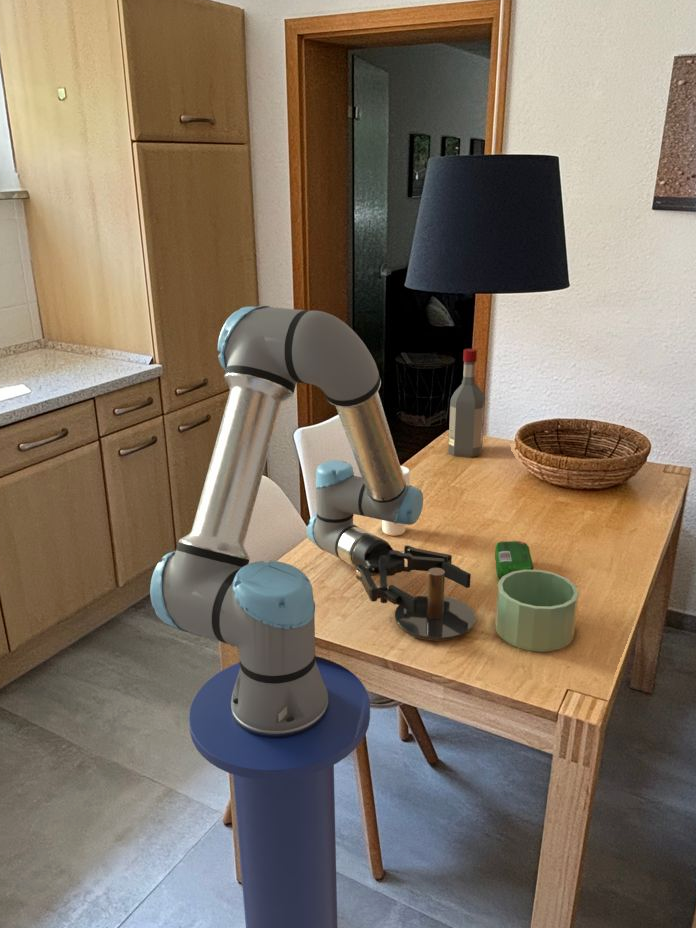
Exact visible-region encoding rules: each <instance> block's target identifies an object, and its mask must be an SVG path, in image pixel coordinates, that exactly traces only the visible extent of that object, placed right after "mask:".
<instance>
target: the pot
mask: <svg viewBox="0 0 696 928" xmlns="http://www.w3.org/2000/svg"><path fill="white" fill-rule="evenodd" d="M496 589H497V590H496V602H495V603H496V604H495V616H494V617H495V619H494V624H495V627H494V628H495V631H496V633H497V634H498V636H499V638H501V639H502V640H503V641H504V642H506V643H507V644H509V645H511V646H513V647H516V648H518V649H521V650H524V651H525V650H526V651H530V652H539V653H540V652H541V653H544V652H545V653H547V652H553V651H558V650H561V649H564V648H565V647H567V646H568V645H569V644H570V643H572V640H573V639H574V634H575V630H576V624H577V623H576V622H577V615H578V604H579V596H580V592H579V590H578V587H577V585H576V584H575V583H574V582H572V581H571V580H570V579H569V578H568V577H565V576H562V575H560V574H559V573H556V572H551V571H547V570H543V569H534V570H519V571H513V572H510V573H509V574H507V575H505V576H503V577H502V578H501V579H500V581H499V580H498V582H497V587H496Z"/></svg>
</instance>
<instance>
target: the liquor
mask: <svg viewBox="0 0 696 928" xmlns="http://www.w3.org/2000/svg"><path fill="white" fill-rule="evenodd" d="M477 352H478V350H477V349H475V348H465V349H463V354H462V356H463V357H462V361H463V372H462V374H463V375H462V376H463V377H462V380H461V384H460V385H459V386H458V387H457V388H456V389H455V390H454V392H453V394H452V395H451V398H450V401H449V402H450V403H449V422H448V423H449V424H448V425H449V427H448V447H447V449H448V453H449V454H450V455H451V456H454V457H461V458H462V457H463V458H474V457H475V458H476V457H479V456H480V455H481V453H482V449H483V440H484V423H485V405H486V397H485V393H484V392H483V391H482V389H481V388H480V387H479V386H478V385H477V383H476V378H475V377H476V362H477V355H478V353H477Z"/></svg>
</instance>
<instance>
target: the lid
mask: <svg viewBox="0 0 696 928" xmlns="http://www.w3.org/2000/svg"><path fill="white" fill-rule="evenodd" d="M445 581H446V577H445V571H444V570H443V569H441V568H431V569H429V570H428V571H427V594H423V595H417V596H414V597H415V598H416V599H417V613H414V614H413V613H411V612H410V611H408V610H406V609H404V608H403V607H401V606H399V605H398V606H397V607H396V608H395V611H394V620H395V623H396V625H397V626H398V627H399V629H401V630H402V631H403V632H405V633H406V634H408V635H410V636H412V637H415V638H419V639H423V640H427V641H428V640H429V641H449V640H454V639H457V638H461V637H463V636H465V635H467V634H468V633H470V632H471V631H472V630H473V629H474V627H475V626H476V625H475V624H476V614H475V611H474V610H473V609H472V607H470V606H469V605H468V604H467V603H465V602H464V601H462V600H460V599H458V598H454V597H451V596H448V595H447V596H446V595H445V585H446V584H445V583H446V582H445Z"/></svg>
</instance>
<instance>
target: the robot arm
mask: <svg viewBox="0 0 696 928" xmlns="http://www.w3.org/2000/svg"><path fill="white" fill-rule="evenodd" d="M217 351H218V352H219V354H218V355H217V356H218V361H219V364H220V366H221V367H222V369H223V370H224V371H225V372H224V376H223V379H224V381H225V383H226V384H227V386H228V388H229V392H228V393H229V394H228V397H227V401H226V403H225V407H224V411H223V415H222V419H221V423H220V427H219V431H218V432H217V437H216V441H215V444H214V448H213V452H212V455H211V458H210V462H209V466H208V470H207V473H206V477H205V481H204V484H203V487H202V491H201V495H200V498H199V502H198V505H197V510H196V513H195V516H194V520H193V524H192V528H191V531H190V532H189V533H188V534H186V535H185V536H183V537H181V538H179V540H178V542H177V545H176V548H175V550H174V551H171V552H168V553H166V554H165V555H163V557H161V561H158V563H157V564H156V566H155V567H154V570H153V572H152V576H151V579H150V586H149V594H150V595H149V596H150V603H151V606H152V608H153V609H154V612H155V615H156V616H157V618H159V619H160V621H162V622H163V623H165V624H166V625H169V626H171V627H174V628H175V629H177V630H179V631H181V632H185V633H192V634H196V635H198V636H202V637H204V638H208V639H211V640H214V641H217V642H220V643H224V644H226V645H230V646H233V647H236V648H237V649H238V656H239V662H240V670H239V673H238V676H237V680H236V682H235V686H234V690H233V693H232V699H231V709H232V716H233V719H234V720H235V722H236V723H237V724H238V726H239V727H241V728H242V729H243V730H245V731H247V732H248V733H251V734H253V735H256V736H260V737H266V738H285V737H291V736H295V735H299V734H301V733H304V732H306V731H308V730H310V729H312V728H313V727H315V726H316V725H317V724H318V723H320V721H321V720H322V719H323V718H324V717H325V715H326V713H327V710H328V692H327V688H326V685H325V683H324V681H323V679H322V677H321V674H320V671H319V669H318V666H317V664H316V660H315V656H316V626H315V625H316V624H315V623H316V621H315V619H316V618H315V613H316V603H315V599H314V591H313V585H312V584H311V580H310V579H309V577H308V576H307V575H306V573H305V572H303V571H302V570H301V569H300V568H298V567H296V566H294V565H291V564H290V563H286V562H283V561H278V560H277V561H276V560H269V561H268V562H265V561H264V560H259V561H253V562H251V563H250V560H251V557H250V555H249V554H248V552H247V549H246V547H245V543H246V538H247V534H248V530H249V527H250V523H251V519H252V515H253V512H254V508H255V505H256V500H257V497H258V493H259V490H260V485H261V481H262V478H263V474H264V471H265V467H266V464H267V459H268V455H269V452H270V448H271V445H272V441H273V438H274V437H273V436H274V433H275V429H276V425H277V421H278V417H279V415H280V410H281V407H282V405H283V404H284V403H286V402H288V401H289V400H291V399H293V397H294V393H295V390H296V387H297V384H305V385H308V384H309V385H313V386H316V387H318V388H319V389H321V390H322V392H323V394H324V397H325V399H326V401H327V403H329V404H330V405H332V406H335V409H336V412H337V414H338V417H339V419H340V422H341V425H342V428H343V431H344V433H345V436H346V438H347V441H348V444H349V447H350V449H351V452H352V455H353V458H354V460H355V463H356V465H357V468H358V470H359V473H360V476H358V475H355V471H354V467H353V464H351V463H348V462H347V461H345V460H329V461H325V462H322V463H321V464H319V465H318V466H317V467H316V472H315V485H314V486H315V497H316V499H315V500H316V513H315V514H313V515H312V516H311V517H310V518H309V521H308V525H307V526H306V535H307V537H308V539H309V541H310V542H311V543H312V544H314V545H315V546H316V547H318V548H319V549H320V550H322V551H323V552H326V553H329V554H331V555H332V556H334V557H336V558H338V559H339V560H341V561H343V562H344V563H347V564H348V565H350V566H352V567H353V568H355V579H357V580H358V581H360V582H361V584H362V586H363V588H364V590H365V592H366V594H367V596H368V598H369V600H370V602H377V601H378V599H380V601H379V603H380V604H387V603H388V602H389V603H391V604H393V605H398V606H401V607H403V608H404V609H406V610H408V611H410V612H411V613H413V614H414V613H417V599H416V598H415V597H416V596H413V595H412V594H409V593H407V592H406V591H404V590H402V589H401V588H399V587H397V586H395V585H394V584H390V585H388V577H393V576H395V575H397V574H399V573H411V572H412V571H418V572H428V570H429V569H431V568H441V569H443V570H444V571H445V579H448V580H450V581H452V582H454V583H456V584H458V585H460V586H461V587H463V588H466V589H469V588H470V587H471V579H472V578H471V576H472V574H471V573H470V572H468V571H466V570H463V569H461V568H460V567H459V566H457V565H455V564H453V563H452V561H453V559H452V557H453V555H451V554H449V553H443V552H437V551H431V550H428V549H423V548H422V549H421V548H416V547H413V546H411V545H409V544H408V545H404V547H403V550H401V551H399V550H395V549H393V547H392V546H391V545H390V543H389V542H388V541H386V540H385V539H383V538H381V537H379V536H377V535H374V533H372V532H370V531H368V530H365V529H364V528H361V527H360V526H358V525H356V524H354V515H357V516H360V517H361V516H362V517H366V518H370V519H371V518H372V519H375V520H380V521H382V520H384V521H389V522H393V523H395V524H396V523H400V524H406V526H412V525H414V524H415V523H417V521H418V520H419V518H420V516H421V514H422V511H423V508H424V507H423V506H424V494H423V491H422V490H421V489H420V488H419V487H417V486H416V487H415V486H414V485H413V486H412V485H411V484H410V486H407V485H406V483H405V479H404V477H403V474H402V470H401V467H400V466H401V464H400V461H399V458H398V454H397V450H396V448H395V444H394V440H393V436H392V434H391V429H390V427H389V423H388V421H387V417H386V414H385V411H384V407H383V404H382V400H381V397H380V393H379V391H380V388H381V384H382V380H381V377H380V372H379V369H378V366H377V363H376V361H375V359H374V357H373V356H372V354H371V352H370V350H369V349H368V347H367V346H366V344H365V343H364V341H363V340H362V339H361V338H360V336H359V335H358V333H356V332H355V331H354V330H353V329H352V327H350V326H349V325H348V324H347V323H346V322H344V321H343V320H341V319H340V318H338V317H337V316H335V315H333V314H331V313H328V312H325V311H323V310H307V309H294V308H282V307H273V306H272V307H271V306H270V305H257V306H243V307H241V308H239V309H238V310H236V311H234V312H233V313H231V314H230V316H229V317H227V319H226V320H225V322H224V324H223V326H222V327H221V330H220V332H219V336H218V341H217ZM405 560H406V561H405ZM406 562H407V563H406ZM376 576H378V577H379V587H378V586H377V584H376V583H375V581H374V579H373V577H376Z"/></svg>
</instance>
